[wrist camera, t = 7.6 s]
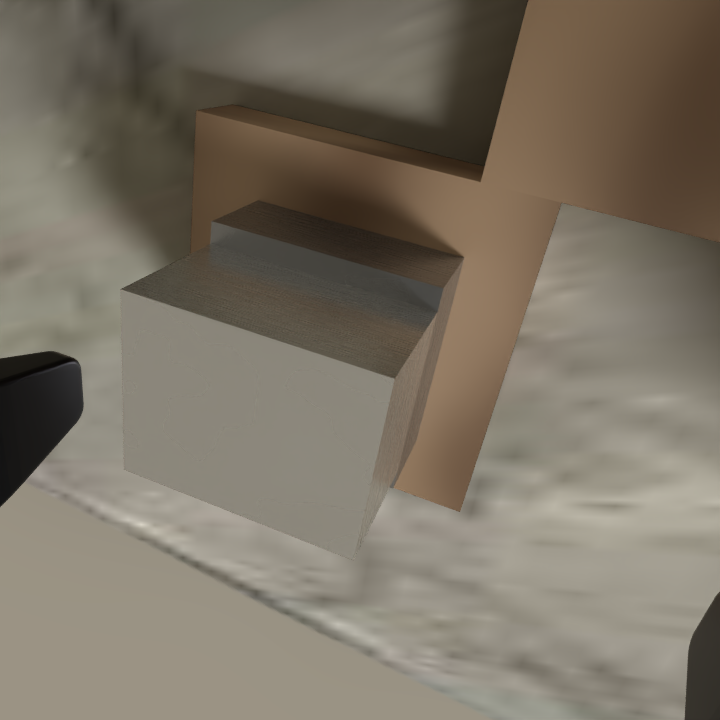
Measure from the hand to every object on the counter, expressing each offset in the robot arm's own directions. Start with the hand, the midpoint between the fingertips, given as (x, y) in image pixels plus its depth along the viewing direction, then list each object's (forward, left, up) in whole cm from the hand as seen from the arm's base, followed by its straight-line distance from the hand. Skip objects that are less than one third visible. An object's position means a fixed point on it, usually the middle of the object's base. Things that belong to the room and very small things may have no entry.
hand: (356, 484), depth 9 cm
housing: (+3, +3, -10) cm, 11 cm away
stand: (+4, +3, -12) cm, 13 cm away
